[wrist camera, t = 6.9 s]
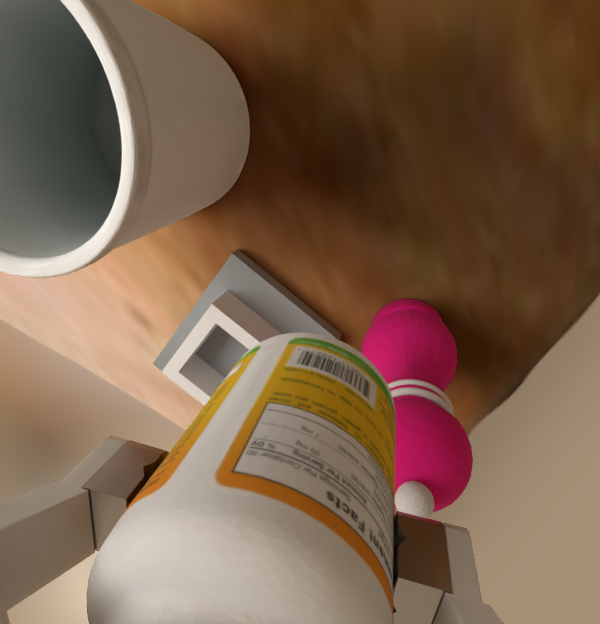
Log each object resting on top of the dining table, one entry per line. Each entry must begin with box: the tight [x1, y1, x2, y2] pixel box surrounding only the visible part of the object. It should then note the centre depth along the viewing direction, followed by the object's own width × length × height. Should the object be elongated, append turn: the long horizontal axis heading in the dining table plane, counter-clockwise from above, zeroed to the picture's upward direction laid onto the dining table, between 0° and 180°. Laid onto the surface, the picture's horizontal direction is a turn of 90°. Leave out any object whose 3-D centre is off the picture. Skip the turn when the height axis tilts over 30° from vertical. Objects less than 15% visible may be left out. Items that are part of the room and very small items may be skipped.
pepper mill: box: [362, 299, 473, 519], centre depth 28 cm, size 7×7×20 cm
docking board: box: [153, 249, 342, 406], centre depth 39 cm, size 12×15×5 cm
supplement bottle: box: [87, 332, 396, 624], centre depth 9 cm, size 5×5×10 cm
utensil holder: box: [0, 0, 250, 278], centre depth 27 cm, size 15×15×18 cm
